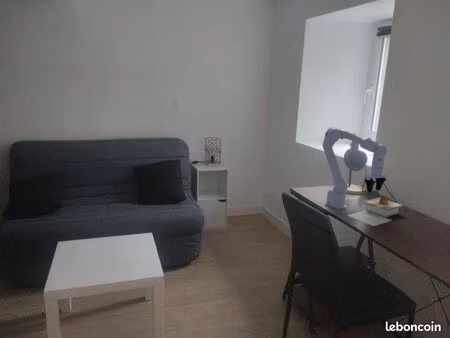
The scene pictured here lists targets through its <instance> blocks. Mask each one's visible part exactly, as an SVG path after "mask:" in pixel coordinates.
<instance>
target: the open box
mask: <svg viewBox="0 0 450 338" xmlns="http://www.w3.org/2000/svg"><path fill="white" fill-rule="evenodd" d="M366 211H368V212H371V213H374V214H377V215H379V216H382V217H385V218H388V217H391V216H394V215H397V214H398V213H399V208H396V209H393V210H389V211H387V210H384V209H381V208H378V207H375V206H372V205H369V204H367V206H366Z"/></svg>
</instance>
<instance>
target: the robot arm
mask: <svg viewBox="0 0 450 338" xmlns="http://www.w3.org/2000/svg"><path fill="white" fill-rule="evenodd" d="M340 139H341V140H349V141H351V142H353V143H356V144H359V147H360V148H362V149H364V150H366V151H367V152H370V153H373V155H372V161H371V166H370V167H371V169H370V173H369V174H367V175H366V176H365V177H364V182H365V184H366V191H367V193H372V192H373V189H374V185H375V191H378V192H380V191H381V190H382V187H383V185H384V183H385V182H386V181H387V177H386V173H385V172H383V170H384V165H385V157H386V155H387V153H388V149H387V147H386V146H385V145H383V144H381V142H379V141H375V140H372V138H371V137H364V138H361V137H359V135H358V136H357V135H356V134H353V133H351V132H350V131H347V130H345V129H341V128H338V127H335V126H330V127H329V128H328V129H327V130H326V132H325V134H324V139H323V142H322V149H323V152H324V154H325V157H326V160H327V164H328V166H329V169H330V173H331V174H332V175H331V176H332V179H333V181H332V182H333V183H332V185H333V188H331V189H329V190H327V191H328V192H327V196H326V202H325V205H326V206H328V207H332V208H335V209H337V210H341V209H344V208H345V209H346V208H348V206H347V205H346V198H347V197H346V196H347V190H348V188H349V187H348V184H347V182H346V181H345V179H344V178H343V175H342V172H341V169H340V166H339V164H338V161H337V158H336V154H335V152H334V149H333V147H334V146H335V144H336V143H337V142H338V141H339V140H340Z"/></svg>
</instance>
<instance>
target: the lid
mask: <svg viewBox="0 0 450 338" xmlns="http://www.w3.org/2000/svg"><path fill="white" fill-rule="evenodd" d="M363 203H364V204H367V205H368V204H369V205H372V206H375V207H378V208H381V209H384V210H387V211H389V210H393V209H396V208H403V207H404V204H401V203H397V202H394V201H391V200H389V195H387V194H382V195H381V194H380V197H376V198H372V199H368V200H364V201H363Z"/></svg>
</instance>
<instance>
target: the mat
mask: <svg viewBox="0 0 450 338" xmlns="http://www.w3.org/2000/svg"><path fill="white" fill-rule="evenodd" d="M346 216H348V217H350V218H353V219H355V220H357V221H360V222H363V223H365V224H367V225H369V226H370V225H371V226H373V227H375V226H379V225H382V224H386V223H388V222H391V221H393V220H392V219H390V218H388V217H383V216H381V215H378V214H375V213H372V212H370V211H367V209H366V210H362V211H358V212H354V213H350V214H347V215H346Z"/></svg>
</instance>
